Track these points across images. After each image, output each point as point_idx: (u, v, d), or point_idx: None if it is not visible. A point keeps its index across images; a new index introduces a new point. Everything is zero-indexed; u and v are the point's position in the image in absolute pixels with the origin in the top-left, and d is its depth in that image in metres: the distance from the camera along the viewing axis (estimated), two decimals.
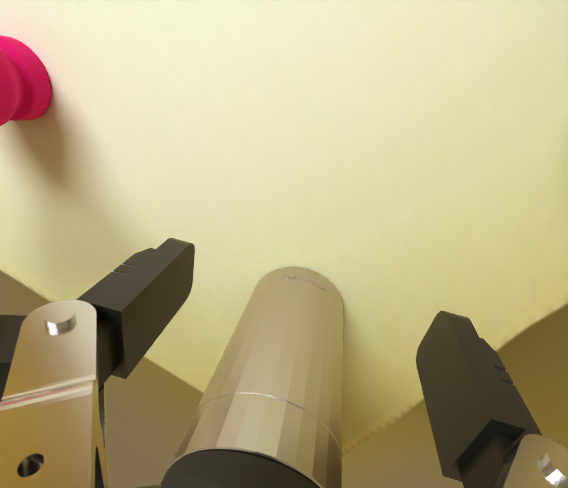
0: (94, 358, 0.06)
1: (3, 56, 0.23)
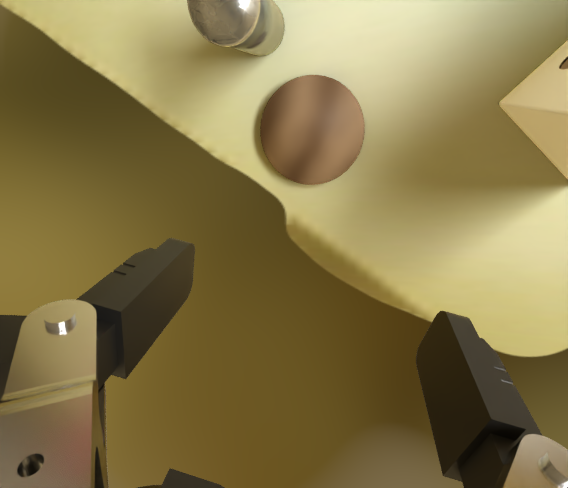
0: (94, 358, 0.06)
1: None
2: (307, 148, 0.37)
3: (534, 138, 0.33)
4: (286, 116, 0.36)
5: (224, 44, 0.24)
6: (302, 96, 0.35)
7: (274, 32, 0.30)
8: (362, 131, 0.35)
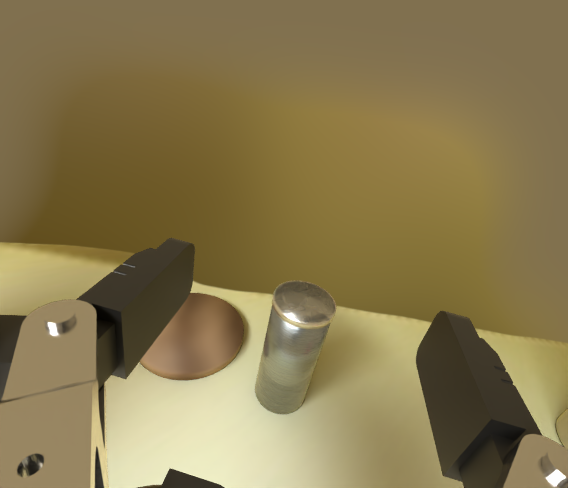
0: (94, 358, 0.06)
1: None
2: (189, 316, 0.37)
3: None
4: (220, 331, 0.36)
5: (288, 282, 0.28)
6: (213, 349, 0.34)
7: (261, 360, 0.30)
8: None
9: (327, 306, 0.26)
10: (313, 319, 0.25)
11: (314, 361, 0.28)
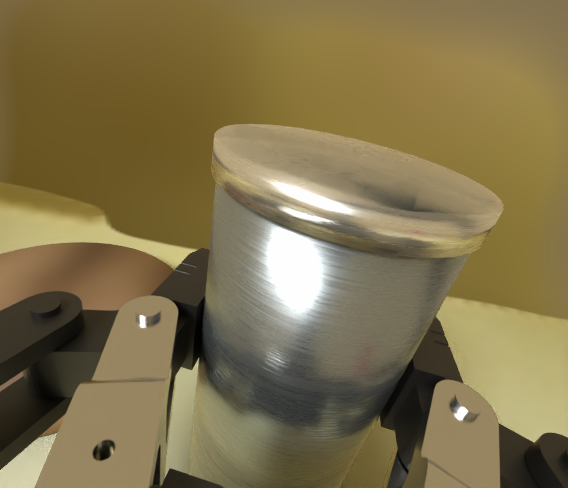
0: (170, 356, 0.06)
1: None
2: (67, 283, 0.17)
3: None
4: None
5: (288, 127, 0.08)
6: None
7: (195, 398, 0.09)
8: None
9: (452, 182, 0.06)
10: (423, 204, 0.04)
11: (379, 413, 0.07)
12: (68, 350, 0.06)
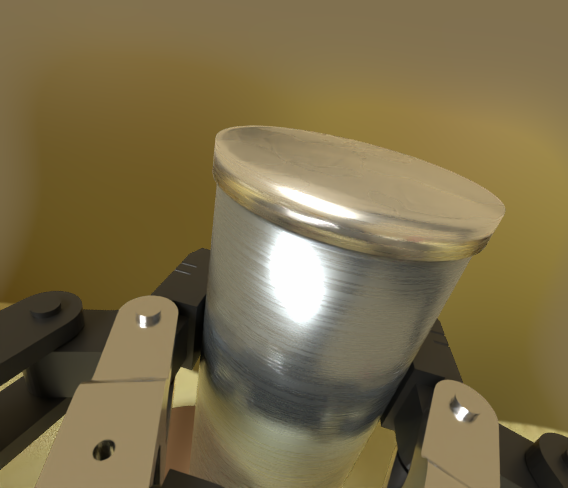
0: (170, 356, 0.06)
1: None
2: None
3: None
4: None
5: (289, 129, 0.08)
6: None
7: None
8: None
9: (454, 185, 0.06)
10: (425, 207, 0.04)
11: (380, 416, 0.07)
12: (68, 350, 0.06)
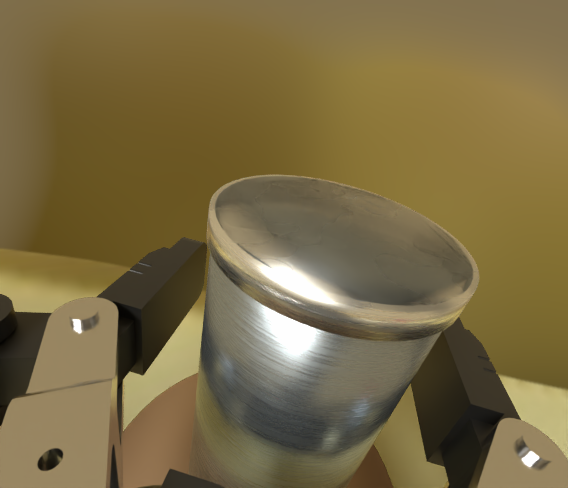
0: (114, 356, 0.06)
1: None
2: None
3: None
4: None
5: (281, 176, 0.08)
6: None
7: None
8: None
9: (435, 246, 0.06)
10: (400, 290, 0.05)
11: None
12: None
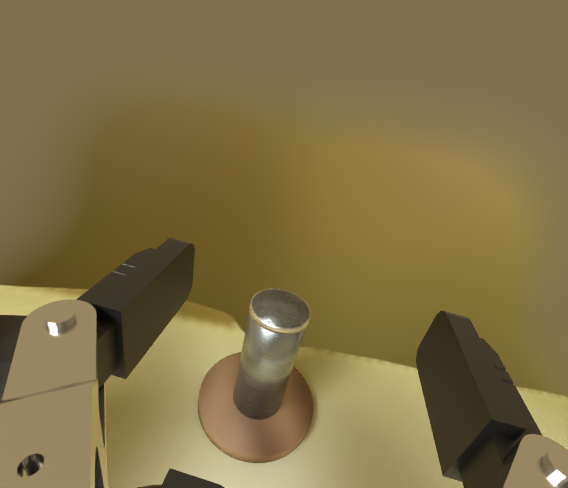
0: (94, 358, 0.06)
1: None
2: None
3: None
4: (289, 399, 0.33)
5: (267, 289, 0.30)
6: (285, 424, 0.31)
7: (239, 365, 0.30)
8: (206, 419, 0.30)
9: (302, 313, 0.28)
10: (287, 325, 0.26)
11: (289, 367, 0.29)
12: None
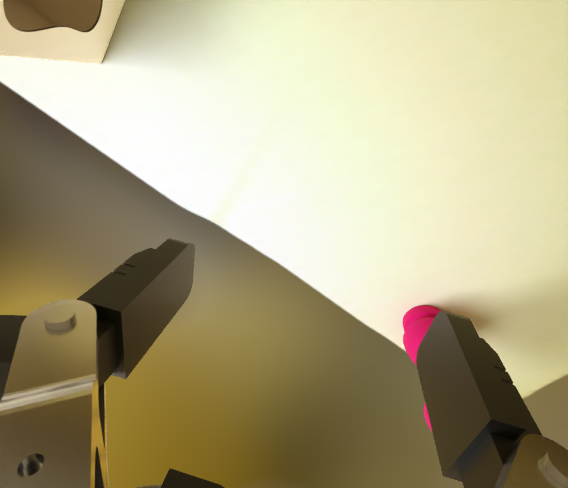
0: (94, 358, 0.06)
1: (423, 319, 0.44)
2: None
3: None
4: None
5: None
6: None
7: None
8: None
9: None
10: None
11: None
12: None
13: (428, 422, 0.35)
